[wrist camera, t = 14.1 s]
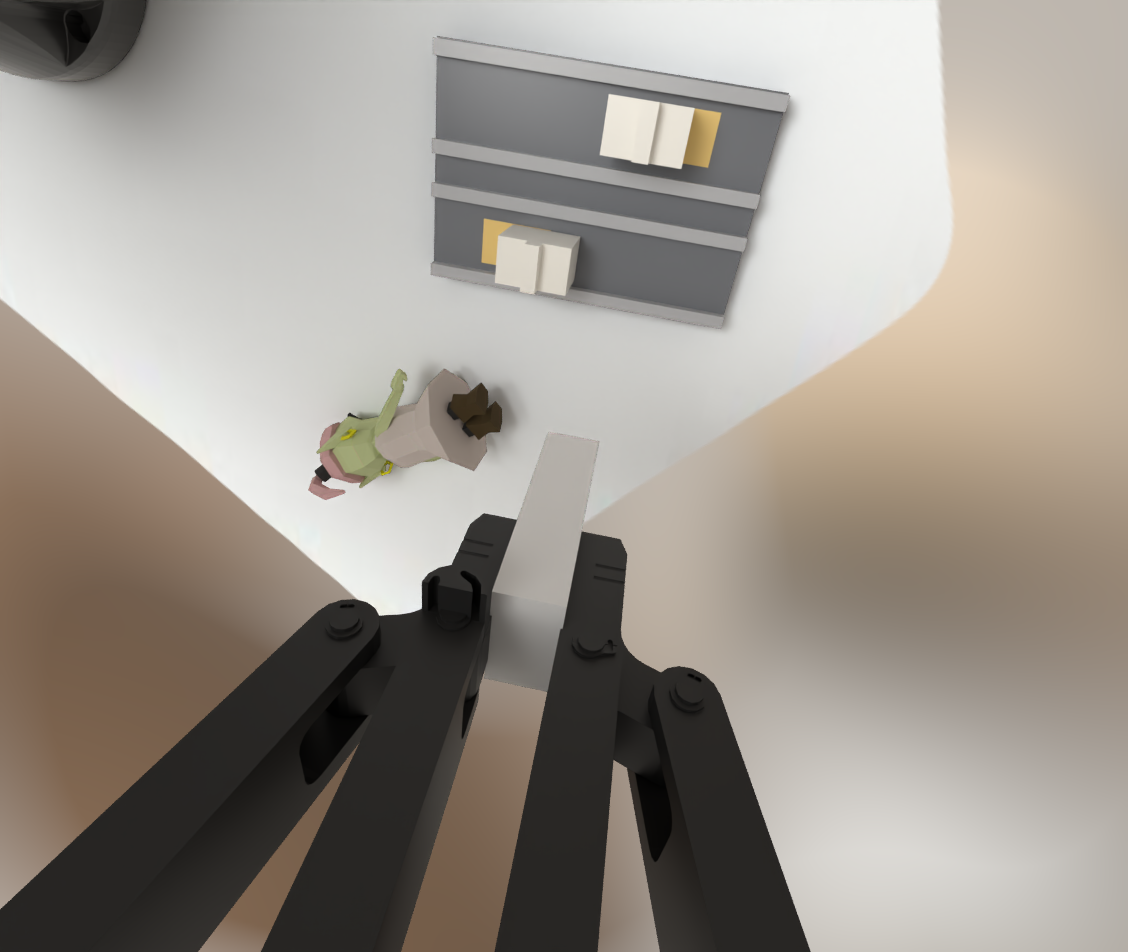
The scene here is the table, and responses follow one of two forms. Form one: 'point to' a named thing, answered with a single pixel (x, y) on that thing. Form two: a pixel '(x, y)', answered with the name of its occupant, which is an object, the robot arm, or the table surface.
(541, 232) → the tab
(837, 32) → the table surface
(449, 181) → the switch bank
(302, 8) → the table surface
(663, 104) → the tab
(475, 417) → the figurine
